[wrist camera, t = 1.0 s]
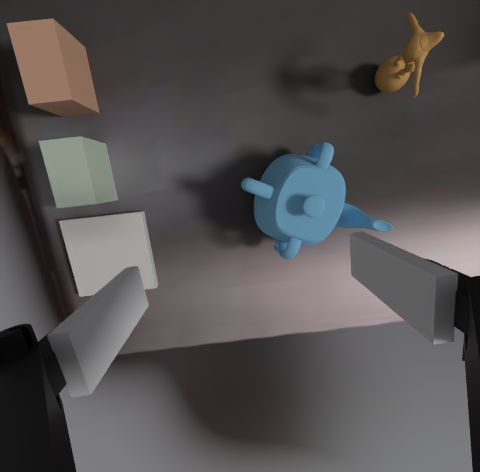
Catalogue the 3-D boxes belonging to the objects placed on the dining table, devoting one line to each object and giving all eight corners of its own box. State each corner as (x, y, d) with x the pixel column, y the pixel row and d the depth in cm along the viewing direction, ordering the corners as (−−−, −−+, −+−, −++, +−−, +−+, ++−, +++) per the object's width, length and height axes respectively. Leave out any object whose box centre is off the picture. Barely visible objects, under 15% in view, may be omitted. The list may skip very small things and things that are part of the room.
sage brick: (71, 147, 35) (38, 141, 29) (106, 143, 35) (80, 136, 29) (84, 203, 37) (57, 208, 31) (118, 200, 37) (96, 203, 31)
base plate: (64, 219, 37) (58, 221, 36) (143, 210, 37) (141, 211, 36) (84, 293, 40) (79, 296, 39) (158, 284, 40) (156, 288, 39)
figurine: (400, 108, 35) (484, 72, 23) (358, 119, 35) (421, 89, 24) (393, 43, 33) (481, -32, 22) (350, 55, 33) (413, -12, 22)
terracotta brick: (47, 51, 32) (6, 23, 27) (85, 47, 32) (53, 18, 27) (63, 117, 34) (28, 104, 28) (99, 113, 34) (72, 99, 28)
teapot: (237, 175, 37) (234, 176, 26) (328, 134, 35) (366, 118, 25) (268, 249, 40) (278, 278, 29) (354, 215, 38) (399, 232, 27)
